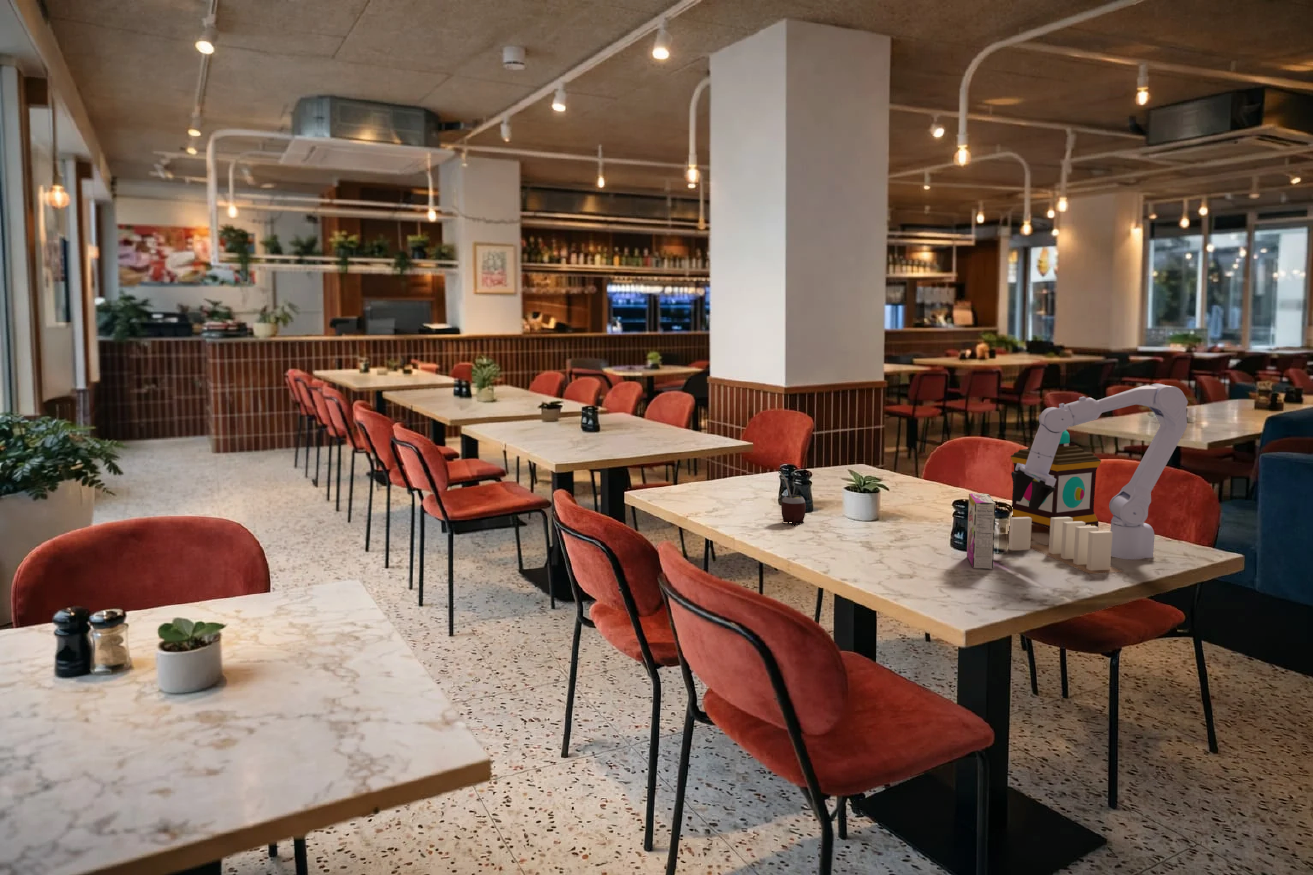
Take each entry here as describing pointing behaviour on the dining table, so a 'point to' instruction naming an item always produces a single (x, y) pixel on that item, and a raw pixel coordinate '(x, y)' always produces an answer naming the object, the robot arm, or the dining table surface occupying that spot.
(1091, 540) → the domino
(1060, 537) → the domino
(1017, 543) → the domino
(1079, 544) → the domino
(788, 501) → the mate gourd
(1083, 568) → the walnut board
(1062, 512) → the decorative lantern
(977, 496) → the candy bar box
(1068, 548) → the domino
